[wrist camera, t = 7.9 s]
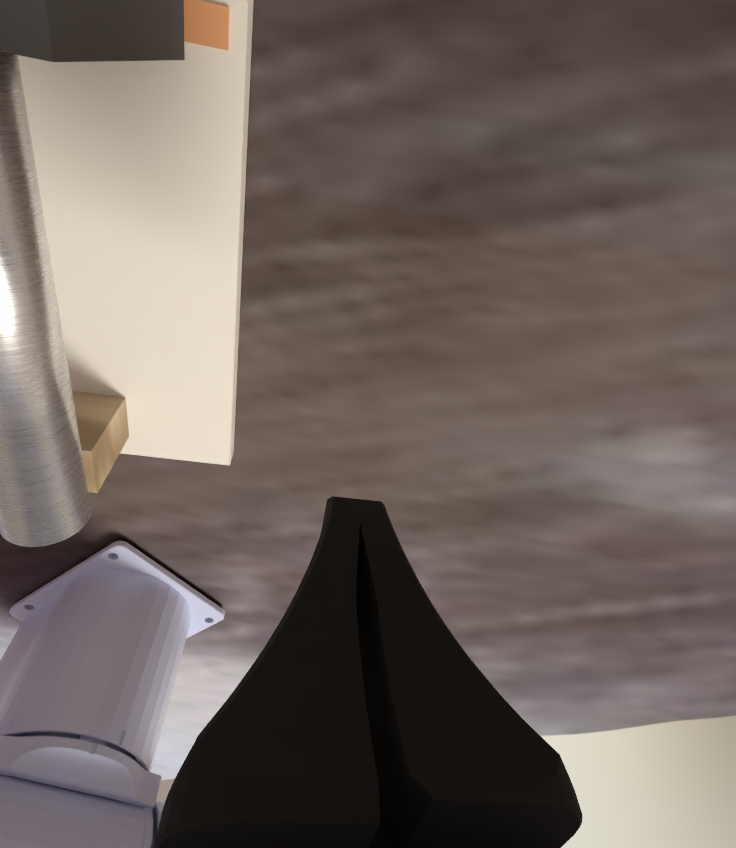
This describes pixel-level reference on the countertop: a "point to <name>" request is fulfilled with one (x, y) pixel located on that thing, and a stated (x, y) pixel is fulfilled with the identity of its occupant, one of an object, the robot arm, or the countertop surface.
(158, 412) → the base board
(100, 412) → the tan wooden bar
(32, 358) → the pipe
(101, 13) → the collar
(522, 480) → the countertop surface
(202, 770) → the robot arm
